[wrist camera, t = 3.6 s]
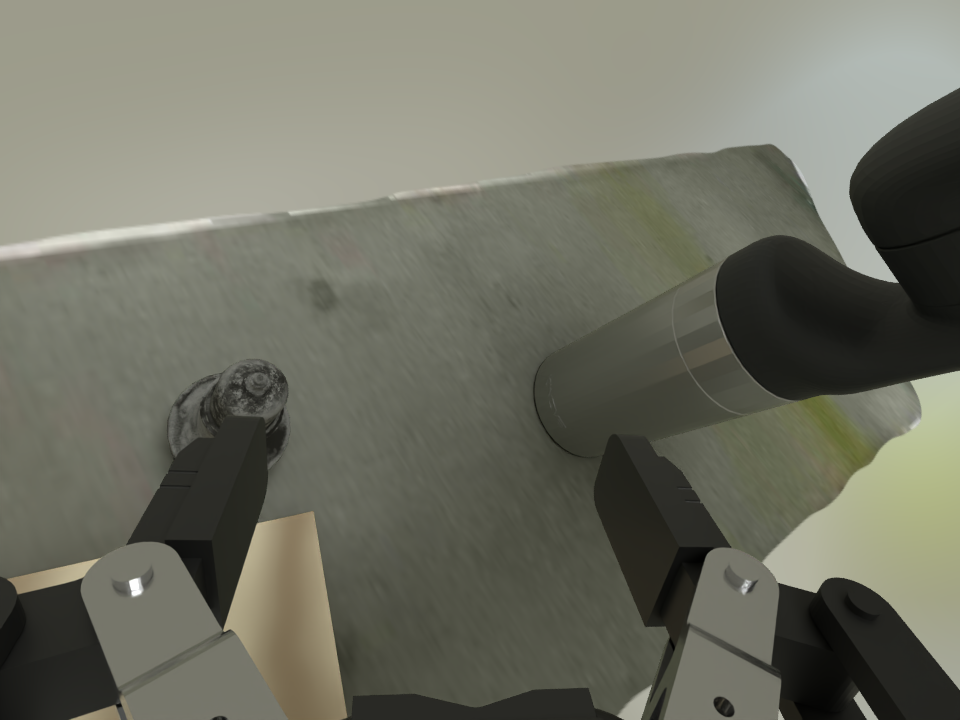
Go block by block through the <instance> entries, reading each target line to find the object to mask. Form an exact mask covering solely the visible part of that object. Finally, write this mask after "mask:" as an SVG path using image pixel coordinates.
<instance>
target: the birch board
mask: <svg viewBox="0 0 960 720" xmlns="http://www.w3.org/2000/svg"><path fill="white" fill-rule="evenodd" d="M100 559H101V558H100ZM98 560H99V559H95V560H91V561H86V562H82V563H77V564H73V565H68V566H64V567H59V568H55V569H50V570H46V571H41V572H37V573H32V574H27V575H23V576H18V577H14V578H9V579H7V580H9V581H10V582H12V584H13V585H14V586H15V588H16V591H17V593H18V594H21V593H25V592H30V591H34V590H38V589H43V588H47V587H51V586H55V585H60V584H64V583H68V582H71V581H75V580H78V579H80V578H83V577H84V576H85V575H86V573H87V571H88V570H89V569H90V568H91V567H92V566H93V565H94V564H95V563H96V562H97V561H98ZM229 629H231V630H232V631H234V632H235V633H236V635H237V636H238V637H239V639H240V640H241V642H242V643H243V645H244V647H245V648H246V650H247V652H248V653H249V655H250V657H251V658H252V660H253V662H254V663H255V665H256V667H257V668H258V670H259V672H260V673H261V675H262V677H263V678H264V680H265V682H266V683H267V685H268V687H269V688H270V690H271V692H272V693H273V695H274V697H275V698H276V700H277V702H278V703H279V705H280V707H281V708H282V710H283V712H284V713H285V715H286V717H287V718H288V720H341V719H345V718H347V712H346V706H345V700H344V694H343V688H342V682H341V676H340V670H339V664H338V658H337V651H336V645H335V639H334V633H333V627H332V621H331V615H330V609H329V603H328V597H327V590H326V584H325V578H324V572H323V566H322V560H321V554H320V548H319V542H318V536H317V530H316V523H315V517H314V511H311V512H307V513H302V514H298V515H293V516H289V517H284V518H280V519H275V520H271V521H266V522H262V523H257V525H256V528H255V531H254V534H253V537H252V541H251V544H250V547H249V550H248V553H247V556H246V560H245V563H244V566H243V569H242V572H241V575H240V579H239V582H238V585H237V588H236V591H235V594H234V598H233V601H232V604H231V607H230V610H229V614H228V617H227V620H226V623H225V626H224V629H223V631H224V632H226V631H227V630H229ZM70 720H119V717H118V715H117V712H116V709H115V707H114V705H113V706H110V707H107V708H104V709H101V710H98V711H95V712H92V713H89V714H86V715H82V716H79V717H76V718H73V719H70Z"/></svg>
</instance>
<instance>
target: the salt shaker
mask: <svg viewBox="0 0 960 720" xmlns="http://www.w3.org/2000/svg"><path fill="white" fill-rule="evenodd" d="M287 398H288V384H287V381H286V378H285V376H284V375H283V373H282V372H281V370H279V369H278V368H277V367H276V366H275V365H273V364H271V363H269V362H267V361H263V360H260V359H247V360H242V361H239V362H237V363H235V364H233V365H231V366H230V367H228V368H227V369H226V370H225V371H224V372H223V373H219V374H215V375H210V376H207V377H205V378H203V379H201V380H199V381H197V382H194V383H193V384H192V385H190V386H189V387H188V388H187V389H186V390H185V391H183V392H182V393H181V394H180V396H179V397H178V399H177V400H176V402H175V403H174V405H173V406H172V409H171V412H170V415H169V418H168V426H167V437H168V440H169V444H170V447H171V452H172V455H173V458H174V460H175V458H176V456H177V454H178V453H179V452H180V451H181V450H182V449H184V448H185V447H186V446H187V445H189V444H190V443H191V442H193V441H194V440H195V439H196V438H198V437H203V438H215V436H216V434H217V432H218V430H219V428H220V426H221V424H222V422H223V420H224V418H225V417H226V416H227V415H234V416H256V417H263V418H264V420H265V429H266V448H267V467H268V470H269V469H270V468H271V467H272V466H273V465H274V464H275V463H276V462H277V461H278V460H279V459H280V457H281V455H282V454H283V452H284V450H285V448H286V446H287V444H288V439H289V435H290V417H289V414H288V411H287V408H286V405H285V404H286V402H287Z"/></svg>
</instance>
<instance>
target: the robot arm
mask: <svg viewBox="0 0 960 720" xmlns="http://www.w3.org/2000/svg"><path fill="white" fill-rule="evenodd" d="M849 194H850V199H851V202H852V205H853V208H854V211H855V213H856V215H857V217H858V220H859V222H860V224H861V226H862V228H863V230H864V231H865V233H866V235H867V236H868V238H869V239H870V241H871V242H872V243H873V244H874V245H875V248H876V250H877V251H878V253H879V254H880V256H881V257H882V259H883V260H884V261H885V263H886V264H887V266H888V267H889V269H890V270H891V272H892V273H893V275H894V276H895V277H896V279H897V280H898V282H899V283H893V282H887V281H883V280H879V279H875V278H872V277H869V276H866V275H863V274H861V273H859V272H856V271H854V270H852V269H850V268H848V267H846V266H844V265H843V264H841V263H839V262H838V261H836V260H834V259H833V258H831V257H830V256H828V255H827V254H825V253H824V252H822V251H821V250H819V249H818V248H816V247H814V246H813V245H811V244H809V243H807V242H805V241H803V240H800V239H798V238H795V237H791V236H784V235H776V236H771V237H767V238H763V239H760V240H758V241H756V242H754V243H752V244H750V245H748V246H747V247H745V248H743V249H741V250H739V251H737V252H736V253H734V254H732V255H730V256H729V257H727V258H726V259H724V260H722V261H720V262H718V263H716V264H715V265H713V266H711V267H709V268H707V269H706V270H704V271H702V272H700V273H698V274H697V275H695V276H693V277H691V278H689V279H687V280H686V281H684V282H682V283H681V284H679V285H677V286H675V287H673V288H671V289H670V290H668V291H666V292H664V293H662V294H661V295H659V296H657V297H655V298H653V299H651V300H650V301H648V302H646V303H644V304H642V305H640V306H639V307H637V308H635V309H633V310H631V311H629V312H628V313H626V314H624V315H622V316H620V317H618V318H617V319H615V320H613V321H611V322H609V323H608V324H606V325H604V326H602V327H600V328H598V329H597V330H595V331H593V332H591V333H589V334H587V335H586V336H583V337H582V338H580V339H578V340H576V341H574V342H573V343H571V344H569V345H567V346H565V347H563V348H562V349H560V350H558V351H556V352H554V353H553V354H551V355H550V356H549V357H547V358H546V359H545V361H544V362H543V363H542V364H541V366H540V368H539V371H538V373H537V376H536V381H535V401H536V407H537V411H538V413H539V416H540V419H541V421H542V423H543V425H544V427H545V428H546V430H547V432H548V433H549V434H550V436H551V437H552V438H553V439H554V441H555V442H557V443H558V444H559V445H560V446H561V447H562V448H563V449H565V450H567V451H569V452H570V453H572V454H575V455H578V456H581V457H595V456H599V455H603V454H604V455H603V458H602V462H601V465H600V468H599V471H598V475H597V478H596V481H595V486H594V501H595V506H596V509H597V512H598V514H599V517H600V519H601V521H602V524H603V526H604V529H605V531H606V533H607V536H608V538H609V541H610V543H611V545H612V548H613V550H614V553H615V555H616V558H617V560H618V562H619V565H620V567H621V570H622V572H623V574H624V577H625V579H626V582H627V584H628V586H629V589H630V591H631V594H632V596H633V598H634V601H635V603H636V606H637V608H638V611H639V613H640V615H641V618H642V620H643V623H644V625H645V627H660V626H666V629H667V631H668V633H669V635H670V636H669V638H668V640H667V642H666V644H665V647H664V650H663V653H662V656H661V659H660V662H659V666H658V669H657V672H656V675H655V678H654V681H653V684H652V687H651V691H650V694H649V697H648V700H647V703H646V706H645V710H644V712H643V716H642V718H641V720H778V711H779V710H780V712H781V714H782V716H783V718H784V719H785V720H867V719H866V718H865V716H864V714H863V713H862V711H861V710H860V708H859V707H858V705H857V704H856V702H855V700H854V699H853V698H854V697H855V695H856V694H857V693H858V692H859V691H860V692H861V694H862V695H863V697H864V698H865V700H866V702H867V703H868V705H869V706H870V708H871V709H872V711H873V712H874V714H875V715H876V717H877V718H878V720H960V690H959V689H958V687H957V686H956V685H955V684H954V683H953V681H952V680H951V679H950V678H949V676H948V675H947V674H946V673H945V671H944V670H943V669H942V668H941V667H940V665H939V664H938V663H937V662H936V660H935V659H934V658H933V657H932V655H931V654H930V653H929V652H928V651H927V650H926V648H925V647H924V646H923V644H922V643H921V642H920V641H919V639H918V638H917V637H916V636H915V635H914V633H913V632H912V631H911V630H910V628H909V627H908V626H907V625H906V624H905V622H904V621H903V620H902V619H901V617H900V616H899V615H898V614H897V612H896V611H895V610H894V609H893V608H892V607H891V606H890V604H889V603H888V602H886V601H885V600H884V599H883V598H882V597H881V596H880V595H878V594H877V593H875V592H874V591H872V590H871V589H869V588H867V587H866V586H864V585H862V584H860V583H857V582H855V581H852V580H848V579H845V578H830V579H827V580H825V581H824V583H822V585H821V587H820V588H819V590H818V592H817V593H813V592H809V591H805V590H802V589H798V588H795V587H791V586H787V585H784V584H780V583H777V581H776V579H775V577H774V576H773V574H772V573H771V572H770V570H769V569H768V568H767V567H766V566H765V565H764V564H762V563H761V562H760V561H759V560H757V559H756V558H754V557H752V556H751V555H749V554H747V553H745V552H742V551H740V550H736V549H732V548H731V546H730V545H729V543H728V542H727V540H726V539H725V537H724V536H723V534H722V533H721V531H720V529H719V528H718V526H717V525H716V523H715V522H714V520H713V519H712V517H711V516H710V514H709V513H708V511H707V510H706V508H705V507H704V505H703V503H700V499H699V497H698V496H697V494H696V493H695V491H694V490H692V487H691V485H690V484H689V482H688V481H687V479H686V478H685V476H684V474H683V473H682V471H681V470H679V469H678V468H677V467H676V466H675V465H673V464H672V463H671V462H670V461H669V460H667V459H666V458H665V457H658V456H657V454H656V453H655V451H654V449H653V448H652V446H651V444H650V443H649V442H652V441H656V440H659V439H663V438H667V437H670V436H674V435H678V434H681V433H685V432H689V431H692V430H696V429H700V428H703V427H707V426H710V425H714V424H718V423H721V422H725V421H729V420H732V419H736V418H740V417H743V416H747V415H751V414H753V413H757V412H761V411H764V410H768V409H771V408H775V407H779V406H782V405H786V404H790V403H793V402H797V401H800V400H804V399H808V398H811V397H815V396H819V395H845V394H854V393H859V392H864V391H869V390H873V389H877V388H882V387H886V386H890V385H894V384H899V383H903V382H908V381H912V380H917V379H922V378H926V377H931V376H936V375H940V374H945V373H950V372H955V371H960V88H959V89H957V90H955V91H953V92H951V93H949V94H948V95H946V96H944V97H942V98H941V99H939V100H937V101H935V102H933V103H931V104H929V105H928V106H926V107H925V108H923V109H921V110H920V111H918V112H917V113H915V114H914V115H912V116H911V117H909V118H908V119H906V120H904V121H903V122H902V123H900V124H899V125H897V126H896V127H895V128H893V129H892V130H891V131H890V132H888V133H887V134H886V135H885V136H884V137H882V138H881V139H880V140H879V141H878V142H877V143H875V145H873V147H872V148H871V149H870V150H869V151H868V152H867V153H866V154H865V155H864V156H863V158H862V159H861V160H860V162H859V163H858V165H857V167H856V169H855V171H854V173H853V174H852V177H851V180H850V191H849ZM267 479H268V467H267V448H266V429H265V420H264V418H263V417H256V416H234V415H227V416H226V417H225V418H224V420H223V422H222V424H221V426H220V428H219V430H218V432H217V434H216V436H215V438H203V437H198V438H196V439H195V440H194V441H193V442H191V443H190V444H189V445H187V446H186V447H185V448H184V449H182V450H181V451H180V452H179V453H178V454H177V456H176V458H175V460H174V461H173V463H172V465H171V467H170V469H169V472H168V474H166V476H165V477H164V479H163V481H162V483H161V484H160V489H158V490H157V492H156V493H155V495H154V497H153V499H152V500H151V502H150V504H149V506H148V507H147V509H146V511H145V513H144V514H143V516H142V518H141V520H140V522H139V523H138V525H137V527H136V529H135V530H134V532H133V534H132V536H131V537H130V539H129V541H128V543H127V544H126V546H123V547H120V548H118V549H116V550H114V551H112V552H110V553H108V554H106V555H105V556H103V557H102V558H101V559H99V560H98V561H97V562H96V563H95V564H94V565H93V566H92V567H91V568H90V569H89V570H88V571H87V573H86V575H85V576H84V577H83V578H80V579H78V580H75V581H71V582H68V583H64V584H60V585H55V586H51V587H47V588H43V589H38V590H34V591H30V592H25V593H21V594H18V593H17V591H16V588H15V586H14V585H13V584H12V582H10V581H9V580H7V579H5V578H2V577H0V720H70V719H73V718H76V717H79V716H82V715H86V714H89V713H92V712H95V711H98V710H101V709H104V708H107V707H110V706H113V705H114V707H115V709H116V712H117V715H118V717H119V720H288V718H287V717H286V715H285V713H284V712H283V710H282V708H281V707H280V705H279V703H278V702H277V700H276V698H275V697H274V695H273V693H272V692H271V690H270V688H269V687H268V685H267V683H266V682H265V680H264V678H263V677H262V675H261V673H260V672H259V670H258V668H257V667H256V665H255V663H254V662H253V660H252V658H251V657H250V655H249V653H248V652H247V650H246V648H245V647H244V645H243V643H242V642H241V640H240V639H239V637H238V636H237V635H236V633H235V632H234V631H232V630H231V629H229V630H227V631H226V632H224V631H223V629H224V626H225V623H226V620H227V617H228V614H229V610H230V607H231V604H232V601H233V598H234V594H235V591H236V588H237V585H238V582H239V579H240V575H241V572H242V569H243V566H244V563H245V560H246V556H247V553H248V550H249V547H250V544H251V541H252V537H253V534H254V531H255V528H256V525H257V522H258V518H259V515H260V512H261V509H262V506H263V503H264V499H265V495H266V489H267ZM341 720H623V719H621V718H619V717H617V716H615V715H613V714H610V713H608V712H605V711H602V710H599V709H595V708H594V706H593V702H592V699H591V695H590V692H589V688H571V689H543V690H532V691H529V692H526V693H522V694H519V695H516V696H513V697H510V698H507V699H504V700H501V701H498V702H495V703H492V704H489V705H486V706H483V707H477V708H474V707H468V706H464V705H459V704H455V703H451V702H447V701H442V700H438V699H434V698H429V697H425V696H421V695H416V694H399V695H370V696H353V705H352V716H351V717H348V718H345V719H341Z"/></svg>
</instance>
